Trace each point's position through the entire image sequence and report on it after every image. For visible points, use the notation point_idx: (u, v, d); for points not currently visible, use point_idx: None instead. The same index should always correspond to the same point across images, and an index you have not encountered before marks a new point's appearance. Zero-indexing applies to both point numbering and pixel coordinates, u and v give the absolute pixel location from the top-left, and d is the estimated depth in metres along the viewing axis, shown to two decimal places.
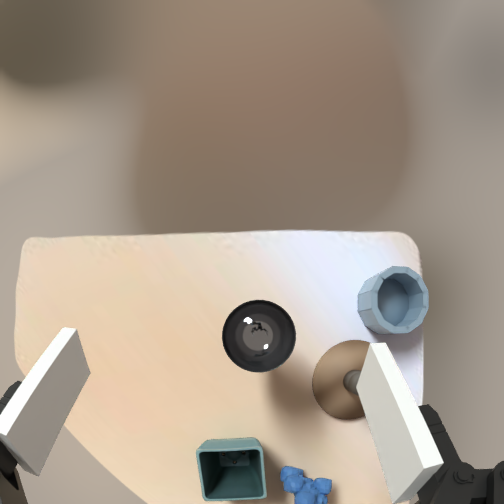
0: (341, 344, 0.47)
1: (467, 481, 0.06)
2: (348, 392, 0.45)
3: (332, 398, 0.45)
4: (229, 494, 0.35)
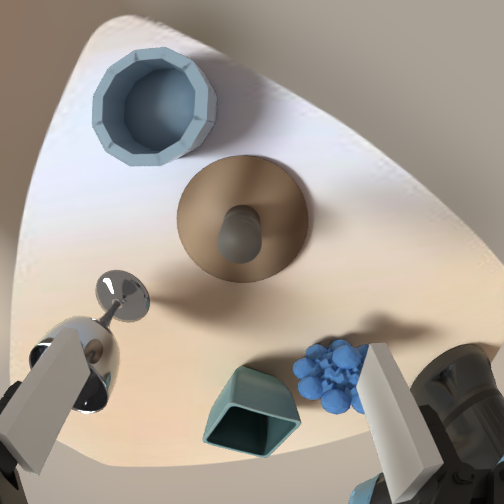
0: (179, 210, 0.31)
1: (468, 481, 0.06)
2: None
3: (246, 263, 0.33)
4: (276, 436, 0.34)
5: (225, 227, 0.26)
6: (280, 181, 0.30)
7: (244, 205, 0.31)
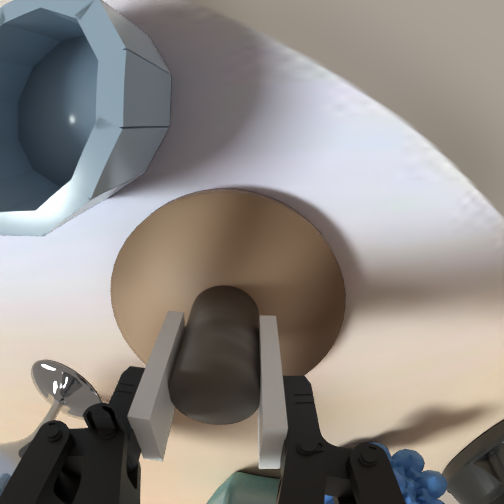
0: (113, 290, 0.17)
1: (316, 451, 0.08)
2: None
3: None
4: None
5: (182, 372, 0.11)
6: (299, 243, 0.16)
7: (228, 288, 0.16)
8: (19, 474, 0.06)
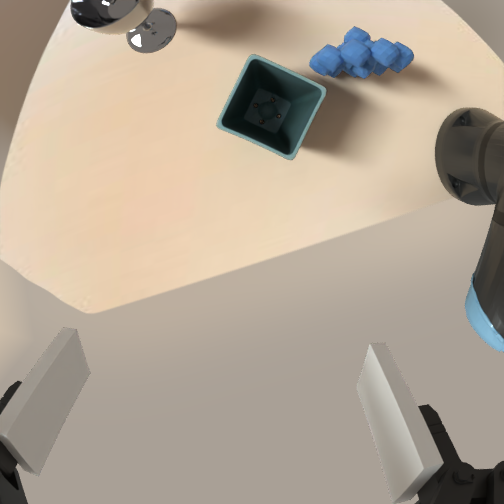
0: None
1: (467, 481, 0.06)
2: None
3: None
4: (301, 129, 0.32)
5: None
6: None
7: None
8: None
